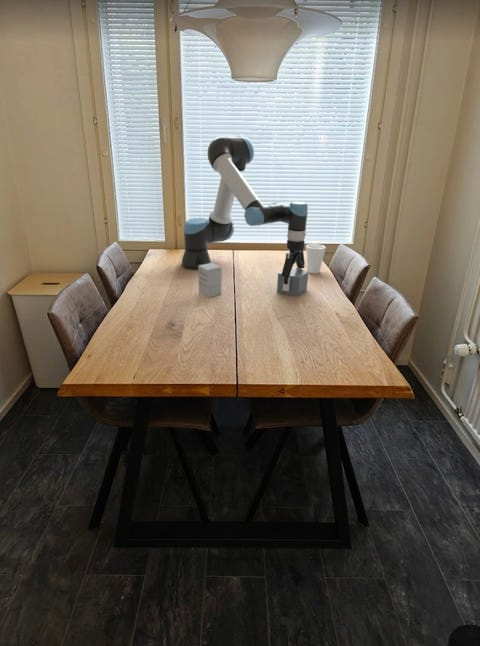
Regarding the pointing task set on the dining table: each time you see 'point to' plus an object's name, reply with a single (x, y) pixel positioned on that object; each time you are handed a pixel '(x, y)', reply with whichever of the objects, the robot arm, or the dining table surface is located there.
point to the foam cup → (314, 257)
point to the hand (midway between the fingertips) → (292, 286)
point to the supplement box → (209, 279)
